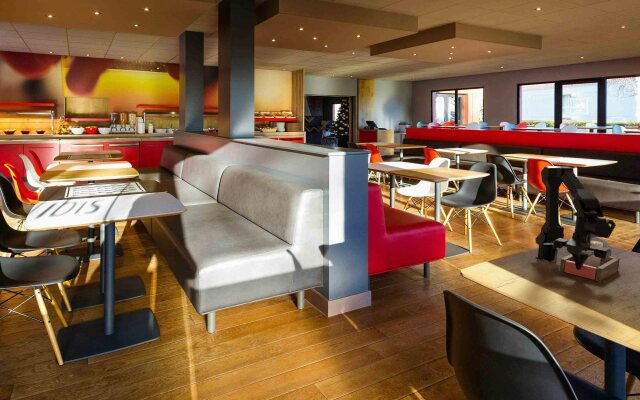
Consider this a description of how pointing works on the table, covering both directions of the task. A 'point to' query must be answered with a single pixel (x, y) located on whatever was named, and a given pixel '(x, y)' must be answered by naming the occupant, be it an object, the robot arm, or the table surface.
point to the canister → (592, 259)
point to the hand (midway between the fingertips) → (578, 269)
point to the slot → (602, 271)
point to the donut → (605, 243)
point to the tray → (581, 270)
